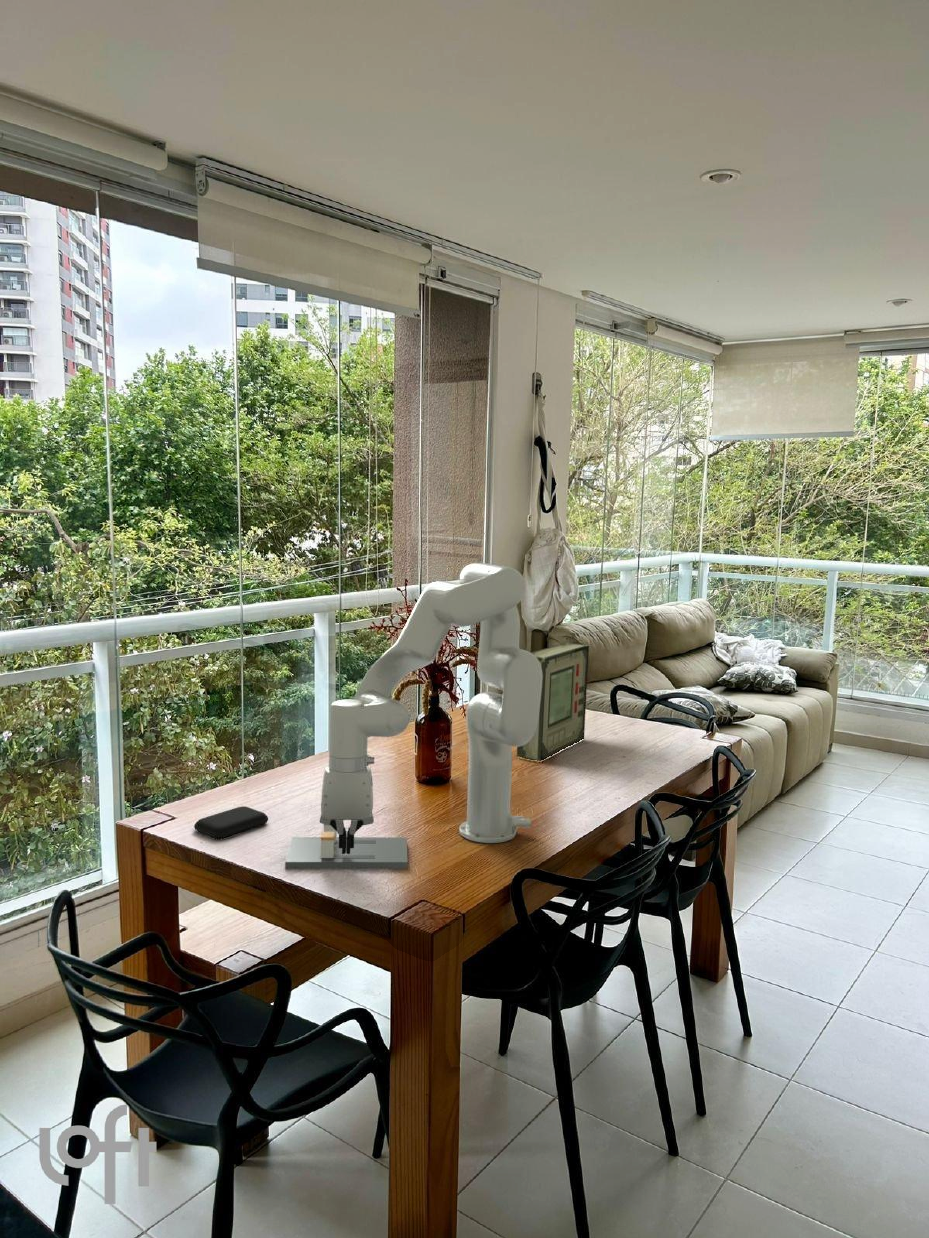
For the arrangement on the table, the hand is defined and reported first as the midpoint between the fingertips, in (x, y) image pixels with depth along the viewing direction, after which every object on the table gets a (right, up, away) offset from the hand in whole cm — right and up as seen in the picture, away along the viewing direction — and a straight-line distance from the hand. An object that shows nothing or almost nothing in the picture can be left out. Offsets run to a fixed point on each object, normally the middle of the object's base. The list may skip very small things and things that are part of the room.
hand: (346, 851), depth 181 cm
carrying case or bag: (-28, 0, +18) cm, 33 cm away
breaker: (-4, 0, +8) cm, 9 cm away
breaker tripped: (-4, -1, 0) cm, 4 cm away
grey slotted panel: (0, -2, +4) cm, 5 cm away
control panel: (+50, +7, +89) cm, 102 cm away
